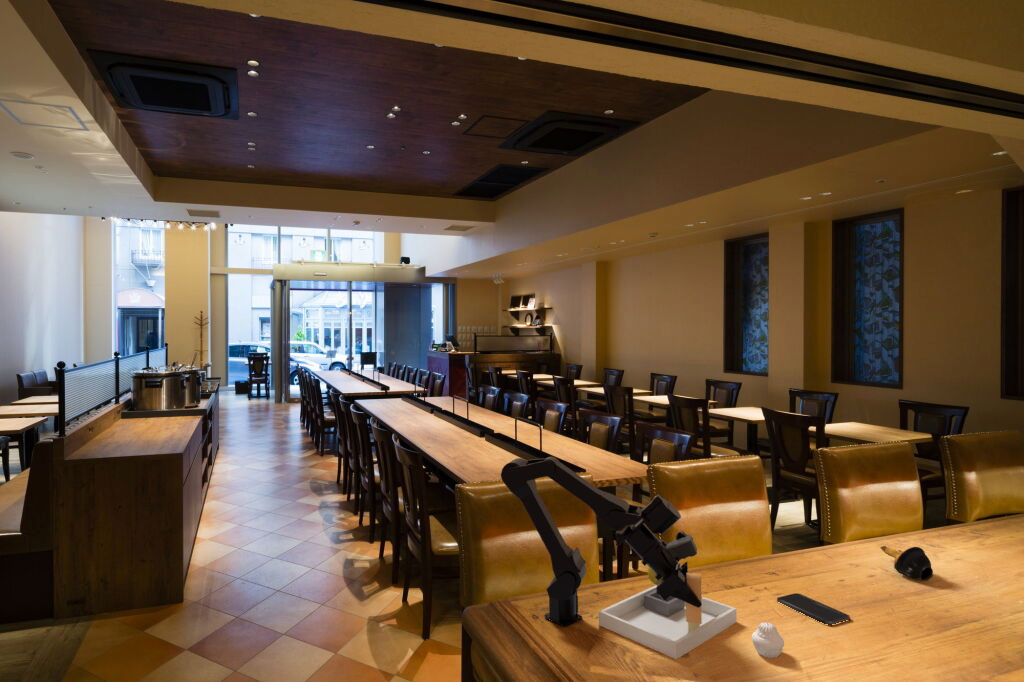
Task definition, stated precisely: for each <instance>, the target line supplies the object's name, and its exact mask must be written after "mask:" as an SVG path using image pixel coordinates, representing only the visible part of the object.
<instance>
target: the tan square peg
mask: <svg viewBox="0 0 1024 682" xmlns="http://www.w3.org/2000/svg"><path fill="white" fill-rule="evenodd" d="M687 583H688V585H689V586H690V588H691V589H692V590H693V592H694V593H695V594H696V596H697V597H698V599H699V600H700V602H701V596H702V574H701V573H694V572H693V573H692V572H691V573H690V572H688V573H687ZM686 622H688V633H690V632H692V631H693V630H695V629H697V628H698V627H700V624H702V606H700V607H699V608H698V607H696V606H693V605H691V604H689V603H687V602H686Z"/></svg>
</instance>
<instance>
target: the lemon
mask: <svg viewBox="0 0 1024 682" xmlns="http://www.w3.org/2000/svg"><path fill="white" fill-rule="evenodd" d="M648 575H649V576H648ZM647 576H648V578H649V580H650V581H651V583H652V584H655V585H657V582H658V580H657V579H656V578H655V573H654V572H653V570H652V569H651V568H650V567H649V566H648V565H647ZM662 578H663V577H662Z"/></svg>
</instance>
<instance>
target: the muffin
mask: <svg viewBox="0 0 1024 682" xmlns="http://www.w3.org/2000/svg"><path fill="white" fill-rule="evenodd" d="M757 627H758V628H757V629H756V630H755V631H754V632H753V633H752V635H751V641H752V645H753V646H754V649H755V651H756V652H757V654H759V655H761V656H762V657H765V658H770V659H774V658H775V659H776V658H777V657H780V655H781V653H782V652H783V648H784V646H785V640H784V637H782V635H781V634H780V633H779V632H778V628H777V627H776V626H775V625H774V624H773V623H771V622H761V623H759V624H758V626H757Z"/></svg>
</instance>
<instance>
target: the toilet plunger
mask: <svg viewBox="0 0 1024 682" xmlns="http://www.w3.org/2000/svg"><path fill="white" fill-rule="evenodd" d="M879 548H880V549H881V551H883V553H885V554H886V555H887V556H889V557H892V558H894V560H893V561H894V564H893V568H894V570H895V569H896V570H897V571H896V570H895V571H896V572H897V573H899V574H900V575H902V574H903V576H906V577H908V578H909V579H912V580H913V579H914V580H917V579H918V580H919V579H920V580H921V581H929V580H930V579H931V578H933V576H934V575H933V574H934V571H933V568H932V562H931V561H930V559H929V557H928V556H927V555H926V553H925V550H924V549H923V548H921V547H919V546H912V547H910V548H908V549H905V550H900V549H898V550H897V549H894V548H892V547H887V546H885V545H882V546H880V547H879Z"/></svg>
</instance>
